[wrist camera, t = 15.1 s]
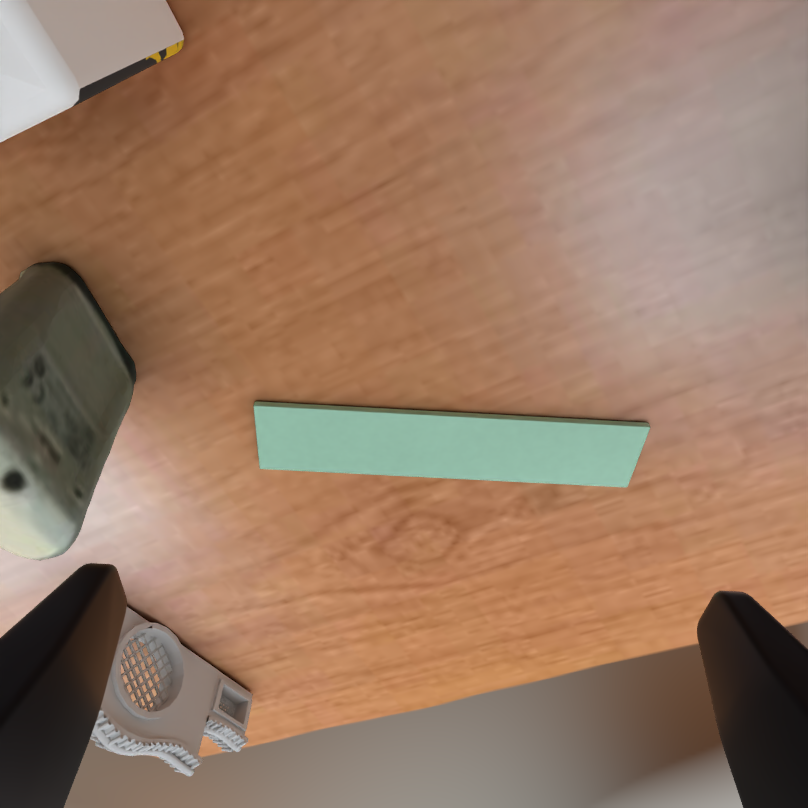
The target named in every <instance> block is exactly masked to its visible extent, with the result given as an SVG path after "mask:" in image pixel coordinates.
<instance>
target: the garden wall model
mask: <svg viewBox="0 0 808 808" xmlns="http://www.w3.org/2000/svg"><path fill="white" fill-rule="evenodd" d="M130 638H133V639H134V640H132V641H130ZM139 641H140V642H142V643H143V644H145V645H144V646H142V647H141V646H140V643H139ZM134 642H136V644H137V647H138V650H137V651H135V650H134V648H133V645H132V643H134ZM127 643H128V644H127ZM126 644H127V645H126ZM128 646H129V647H130V649H131V652H132V654H131V655H130V656H129V655H128V652H127V650H126V647H128ZM145 647H146V648H147V650H148V653H149V654H148V655H147V656H146V657H145V655H144V653H143V650H142V649H143V648H145ZM123 651H124V654H125V656H126V658H125V659H123V657H122V654H123ZM138 652H140V654H141V656H142V660H140V661H139V660H138V658H137V655H136V653H138ZM153 655H154V657H155V659H156V661H155V659H154V657H153ZM132 656H134V659H135V661H136V664H135V665H133V664H132V662H131V660H130V658H131V657H132ZM149 656H150V658H151V660H152V662H153V663H152V664H151V665H150V666H149V665H148V662H147V660H146V659H147V658H148V657H149ZM125 661H128V663H129V666H130V668H129V669H127V667H126V664H125ZM143 661H144V664H145V666H146V669H144V670H142V667H141V665H140V663H142V662H143ZM156 663H157V664H156ZM121 664H122V666H123V668H124V671H125V672H124V673H123V674H121ZM157 665H158V666H157ZM136 666H138V669H139V671H140V673H139V674H138V675H137V674H136V672H135V669H134V668H135V667H136ZM152 666H154V667H155V670H156V672H155V673H154V674H152V672H151V670H150V668H151V667H152ZM158 668H159V669H158ZM130 671H132V673H133V676H134V678H133V679H131V676H130V674H129V672H130ZM146 671H148V673H149V676H150V677H149V678H147V679H146V677H145V674H144V673H145V672H146ZM156 674H158V677H159V679H160V680H159V681H158V682H157V683H156V682H155V679H154V676H155V675H156ZM124 675H127V678H128V680H129V682H128V683H126V684H125V682H124V680H123V678H122V677H123V676H124ZM139 676H142V678H143V681H144V682H142V683H141V684H140V681H139V679H138V677H139ZM150 679H151V680H152V683H153V686H152V687H151V688H150V686H149V684H148V681H149V680H150ZM134 680H136V683H137V685H138V686H137V687H136V688H135V686H134V683H133V681H134ZM159 683H160V685H159V689H158V686H157V685H158V684H159ZM129 684H130V685H131V688H132V691H131V692H130V693H129V692H128V690H127V686H128V685H129ZM144 684H145V685H146V688H147V691H146V692H145V693H144V691H143V688H142V686H143V685H144ZM153 688H155V690H156V692H157V695H156V696H155V697H154V696H153V694H152V691H151V690H152V689H153ZM138 689H139V690H140V692H141V696H140V697H139V696H138V693H137V691H136V690H138ZM133 693H134V695H135V697H136V700H135V701H134V702H132V699H131V697H130V695H131V694H133ZM147 693H149V695H150V697H151V700H150V701H149V702H148V701H147V698H146V696H145V695H146V694H147ZM252 695H253V694H251V693H250V692H248V691H247V690H246V689H244V688H243V687H241V686H240V685H238V684H237V683H236V682H234V681H233V680H231V679H230V678H228V677H227V676H225V675H224V674H223V673H221V672H220V671H219V670H217V669H216V668H214V667H213V666H212V665H210V664H209V663H207V662H206V661H204V660H203V659H201V658H200V657H199V656H197V655H196V654H194V653H193V652H191V651H190V650H189V649H187V648H186V647H184V646H183V645H181V643H180V642H179V640H178V638H177V636H176V635H174V634H173V633H172V632H171V631H170V630H169V629H168V628H167V627H165V626H163V625H161V624H158V623H150V622H148V621H147V620H145V619H144V618H143V617H141V616H140V615H138V614H137V613H135V612H134V611H133V610H131V609H130V608H128V607H127V608H126V614H125V618H124V622H123V625H122V629H121V633H120V637H119V641H118V644H117V648H116V652H115V656H114V659H113V663H112V667H111V671H110V675H109V678H108V682H107V686H106V690H105V694H104V697H103V701H102V704H101V708H100V711H99V715H98V718H97V720H96V723H95V726H94V729H93V732H92V734H91V737H90V739H91V740H94V741H96V743H95V745H96V746H98V747H100V748H103V749H106V750H108V751H111V752H115V753H117V754H122V755H126V756H128V755H129V756H135V755H151V756H158V757H160V759H164V763H169V764H170V765H169V766H170V767H174V768H175V769H174V771H176V772H181V773H184V774H185V775H187V776H191V775H192V774H193V773H194V769H193V768H195V767H196V766H198V765H200V764H201V763H202V761H203V758H201V757H200V756H199V755H198V753H199V749H200V745H201V741H202V737H203V736H208V737H209V739H213V743H218V747H222V751H228V752H232V751H233V750H234V751H236V752H239V751H240V750H241V747H242V746H243V745H245V744H246V743H247V742H248V738H247V737H246V736H244V735H245V731H246V729H247V724H248V719H249V714H250V709H251V704H252ZM141 698H143V700H144V702H145V705H144V706H143V705H142V703H141V700H140V699H141ZM155 699H156V700H155ZM137 702H138V705H139V707H140V708H139V707H138V706H137V705H136V704H135V703H137ZM152 702H153V706H152V707H151V708H150V705H149V704H150V703H152ZM223 704H224V706H223ZM220 706H221V707H220ZM146 707H147V709H148V711H147V710H144V709H145V708H146ZM228 707H229V708H228ZM218 708H219V709H218ZM221 708H222V709H221ZM225 709H226V711H225ZM223 711H224V712H223Z"/></svg>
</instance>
